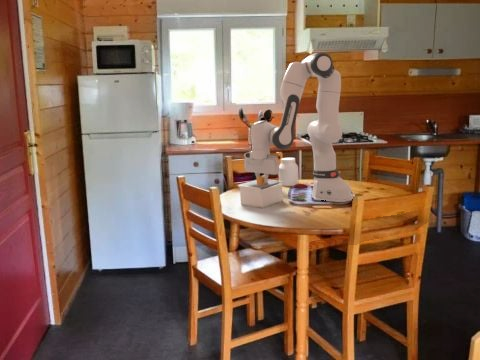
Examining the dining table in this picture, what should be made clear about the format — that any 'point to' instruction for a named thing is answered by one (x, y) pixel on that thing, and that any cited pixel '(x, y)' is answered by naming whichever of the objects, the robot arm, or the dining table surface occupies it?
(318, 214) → the dining table surface
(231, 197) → the dining table surface
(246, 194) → the carton
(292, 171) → the jar
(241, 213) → the dining table surface
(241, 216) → the dining table surface
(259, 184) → the lid
